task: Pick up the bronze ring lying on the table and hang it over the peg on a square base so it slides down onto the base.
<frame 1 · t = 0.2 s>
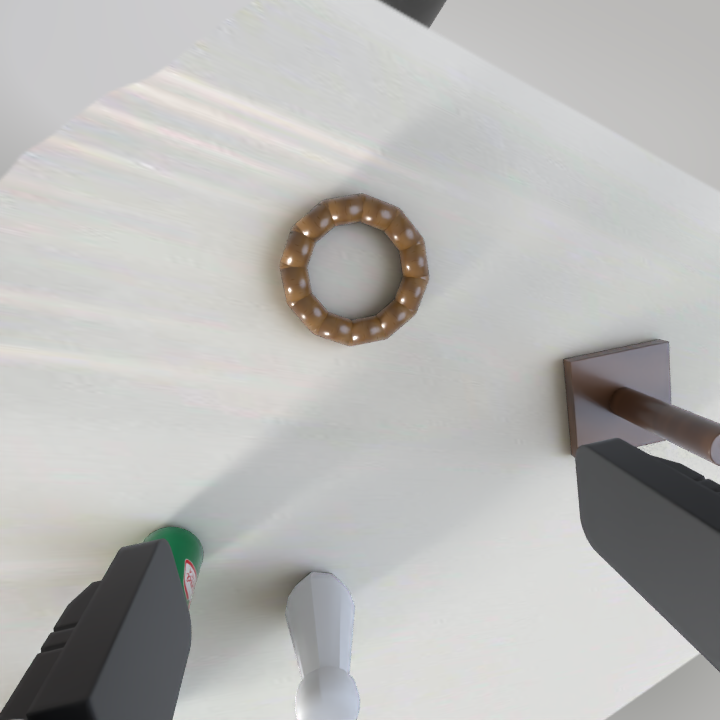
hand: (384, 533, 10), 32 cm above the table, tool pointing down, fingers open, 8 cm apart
soda can: (173, 549, 44), on the table
salt shaker: (318, 590, 46), on the table
ring: (355, 271, 40), point 1 cm above the table
peg on square base: (614, 397, 46), on the table
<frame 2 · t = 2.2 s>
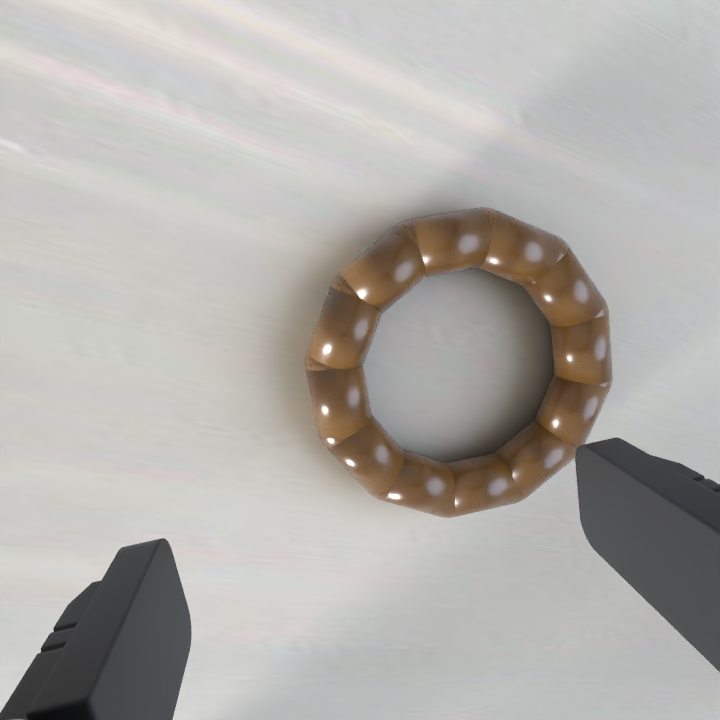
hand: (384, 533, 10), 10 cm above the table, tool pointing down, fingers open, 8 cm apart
ring: (462, 370, 19), point 1 cm above the table
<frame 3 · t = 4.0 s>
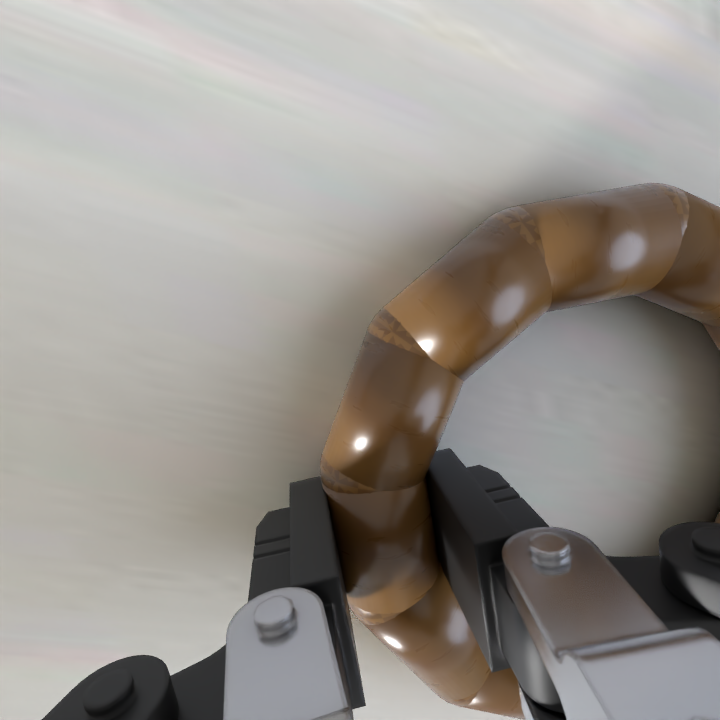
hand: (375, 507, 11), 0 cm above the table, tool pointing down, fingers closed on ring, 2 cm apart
ring: (598, 474, 11), point 1 cm above the table, touching gripper
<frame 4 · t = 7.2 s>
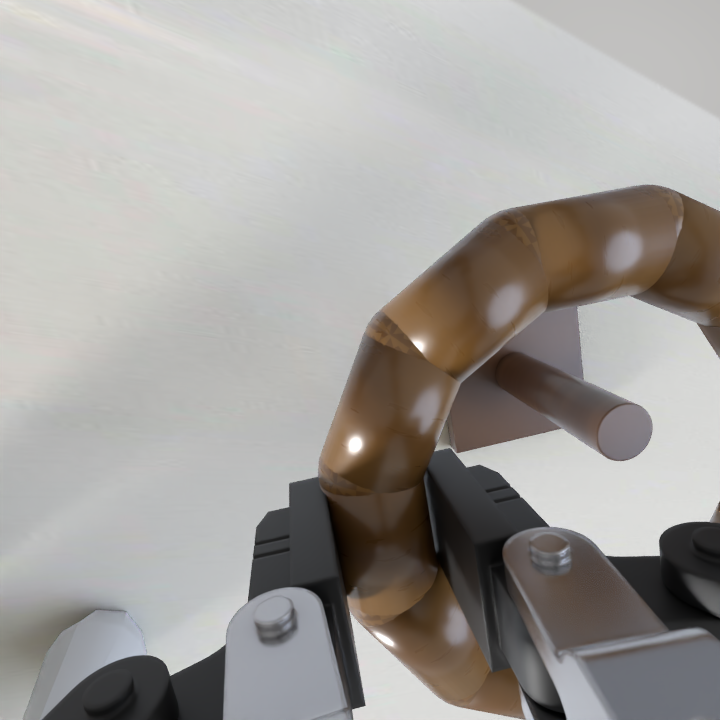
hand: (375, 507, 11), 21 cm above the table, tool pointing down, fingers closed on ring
salt shaker: (110, 633, 34), on the table
ring: (595, 474, 11), point 22 cm above the table, touching gripper
peg on square base: (507, 368, 34), on the table
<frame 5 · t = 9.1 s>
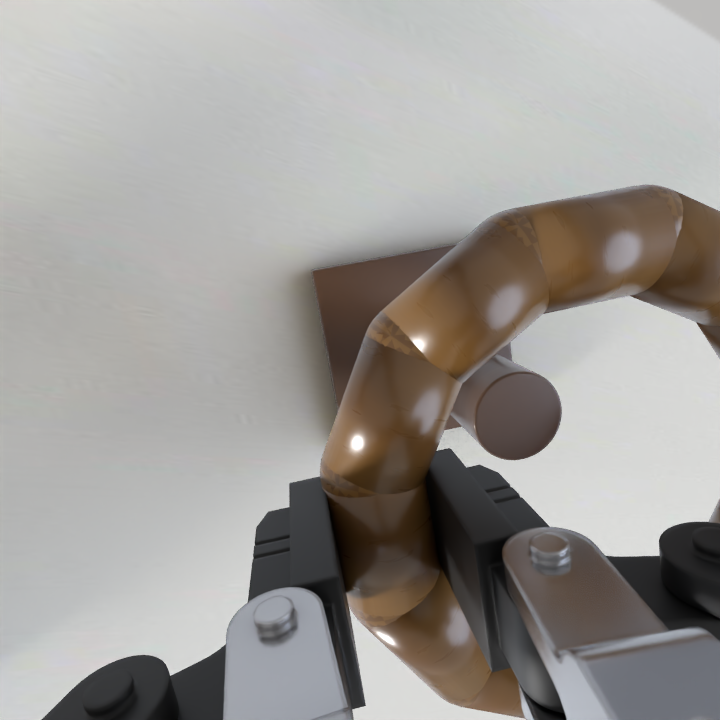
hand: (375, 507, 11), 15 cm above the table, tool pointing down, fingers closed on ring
ring: (596, 474, 11), point 16 cm above the table, touching gripper
peg on square base: (415, 342, 26), on the table
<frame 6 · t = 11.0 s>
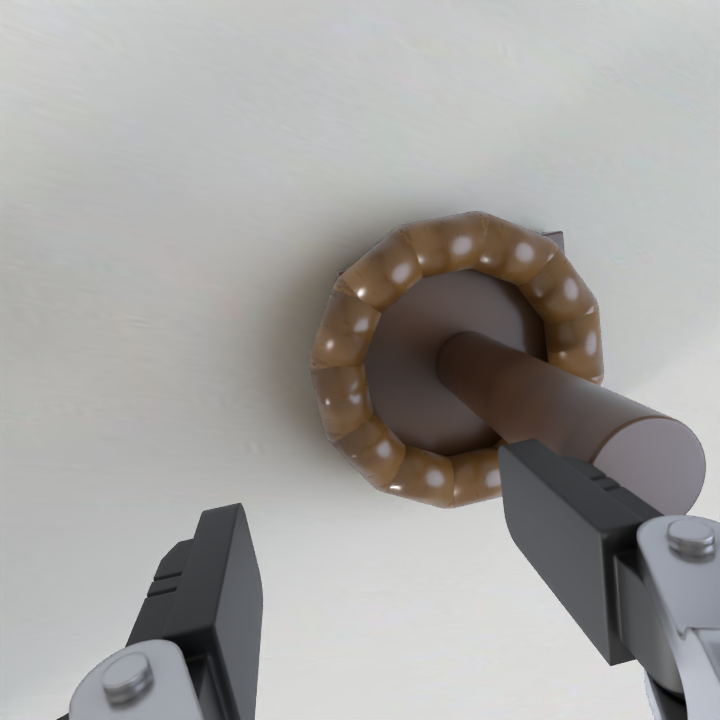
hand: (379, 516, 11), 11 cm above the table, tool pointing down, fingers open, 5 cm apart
ring: (459, 366, 20), point 2 cm above the table, touching peg on square base
peg on square base: (458, 357, 22), on the table
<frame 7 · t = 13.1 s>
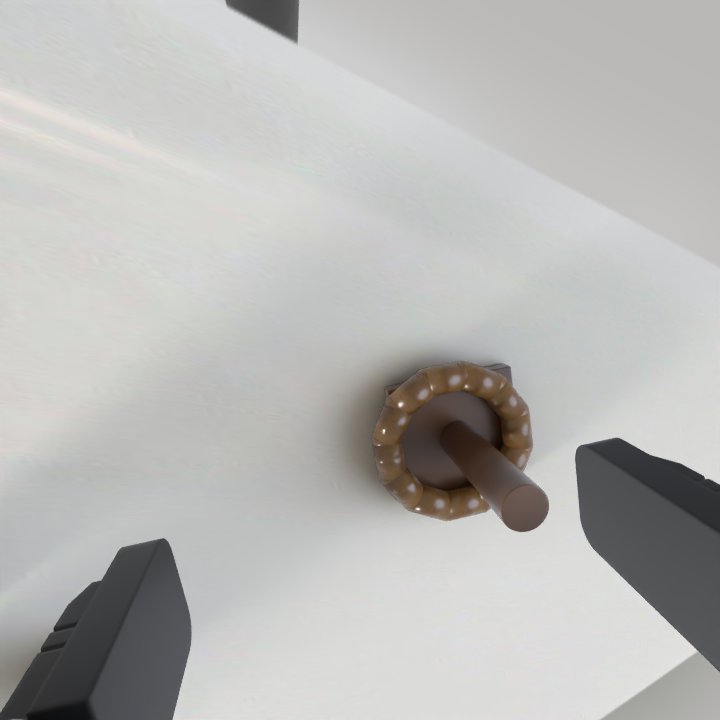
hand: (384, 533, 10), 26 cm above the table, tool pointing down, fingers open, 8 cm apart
ring: (453, 442, 36), point 2 cm above the table, touching peg on square base
peg on square base: (452, 433, 38), on the table
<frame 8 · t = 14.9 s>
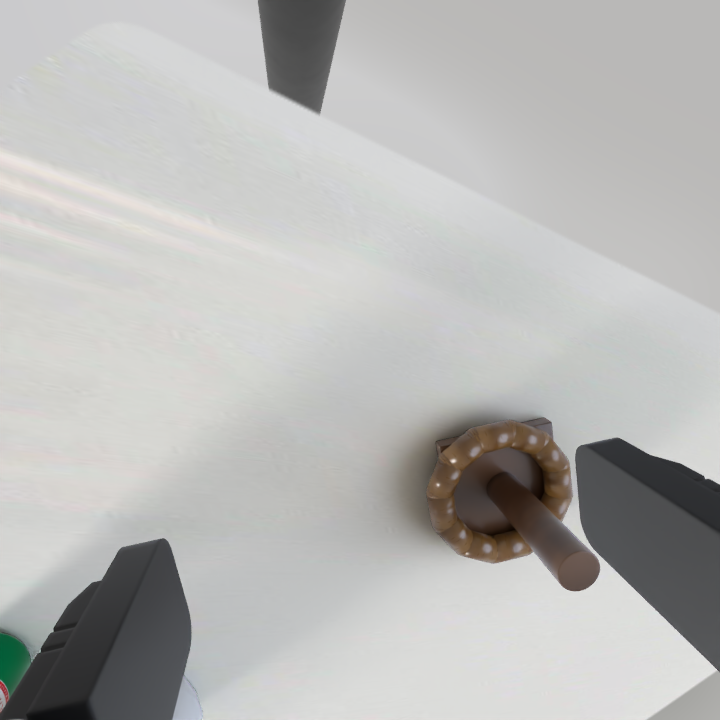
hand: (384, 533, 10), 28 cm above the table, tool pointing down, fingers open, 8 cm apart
salt shaker: (170, 693, 42), on the table
ring: (500, 492, 39), point 2 cm above the table, touching peg on square base
peg on square base: (496, 481, 42), on the table
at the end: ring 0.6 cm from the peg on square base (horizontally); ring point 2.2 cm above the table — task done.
